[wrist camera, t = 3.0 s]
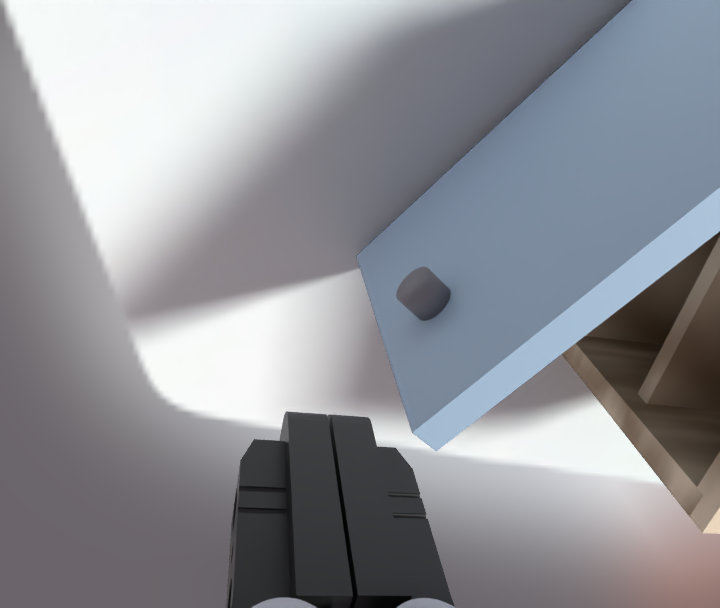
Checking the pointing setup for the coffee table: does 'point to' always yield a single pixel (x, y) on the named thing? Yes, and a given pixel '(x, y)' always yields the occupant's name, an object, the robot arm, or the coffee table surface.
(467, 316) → the cabinet door
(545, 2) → the coffee table surface
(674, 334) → the cabinet
